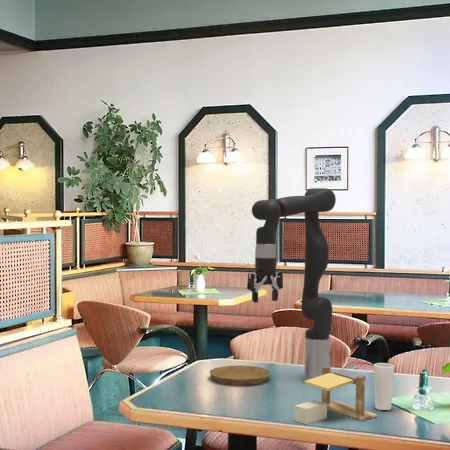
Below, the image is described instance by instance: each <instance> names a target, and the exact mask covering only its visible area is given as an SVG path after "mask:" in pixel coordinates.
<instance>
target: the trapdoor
mask: <svg viewBox="0 0 450 450" xmlns="http://www.w3.org/2000/svg"><path fill="white" fill-rule="evenodd" d="M359 376H362V377H365V382H366V380H367V379H366V374H361V373H359V372H354V371H350V370H348V369H343V368H342V369H339V370H336V371H333V373H327V374H324V375H321V376H318V377H315V378H312V379H309V380H306V381H305V380H304V384H306V385H308V386H311V387H315V388H318V389H321V390H322V389H323V390H326V391H330V392H331V391H333V390H335V389H338V388H341V387H344V386H347V385H350V384H353V385H355V386H356V382H355V379H356V377H359Z"/></svg>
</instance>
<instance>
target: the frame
mask: <svg viewBox="0 0 450 450" xmlns="http://www.w3.org/2000/svg"><path fill="white" fill-rule="evenodd" d="M327 373H332V371H331V372H330V367H327V366H326V367H322V375H324V374H327ZM332 374H333V373H332ZM365 378H366V376H365V377H362V376H359V377H356V379H355V382H356V385H355V405H354V406H353V405H350V404H347V403H344V402H343V401H342V402H341V401H338V400H337V399H335V400H331V390H330V391H326V390H323V389H321V402H323V403H327V410H329V411H333V412H336V413H338V414H341V415H343V414H344V416H346V415H347V417H349V416H350V417H349V418H352V417H353V418H352V419H354V418H356V419H355V420H357V419H359V420H358V421H360V420H361V421H360V422H363V421H362V420H364V421H367V420H366V419H369V420H371V419H370V418H373V419H375V418H374V417H377V418H378V414H376V413H374V412H371V411H368V410H365V404H366V402H365V400H366V399H365V398H366V396H365V391H366V381H365Z"/></svg>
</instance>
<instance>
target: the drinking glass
mask: <svg viewBox="0 0 450 450" xmlns="http://www.w3.org/2000/svg"><path fill="white" fill-rule="evenodd" d="M394 380H395V365H394V364H391V363H388V362H387V363H386V362H377V363H374V364H373V386H374V387H373V389H374V390H373V391H374V407H375V409H376V410H378V411H381V410H388V411H390V410H392V403H393V402H392V401H393V390H394V382H395V381H394Z"/></svg>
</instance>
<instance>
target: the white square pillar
mask: <svg viewBox="0 0 450 450" xmlns="http://www.w3.org/2000/svg"><path fill="white" fill-rule="evenodd" d="M293 409H294V410H293V422H297V423H301V424H304V425H308V424H311V423H315V422H319V421H321V420H325V419H327V418H328V417H327V413H328V409H327V403H323V402H322V401H321V400H316V399H314V400H311V401H308V402H303V403H299V404H295V405H294V407H293Z"/></svg>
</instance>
